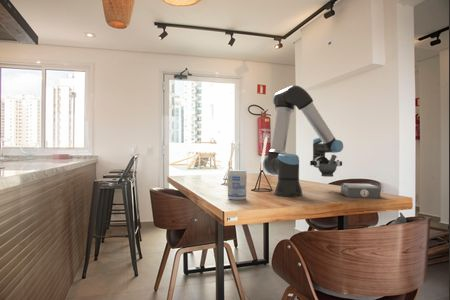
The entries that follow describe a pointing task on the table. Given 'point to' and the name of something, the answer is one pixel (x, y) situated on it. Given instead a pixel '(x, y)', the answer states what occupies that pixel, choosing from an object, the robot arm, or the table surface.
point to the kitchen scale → (360, 190)
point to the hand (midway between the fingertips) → (328, 163)
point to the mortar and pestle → (328, 167)
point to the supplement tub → (237, 184)
